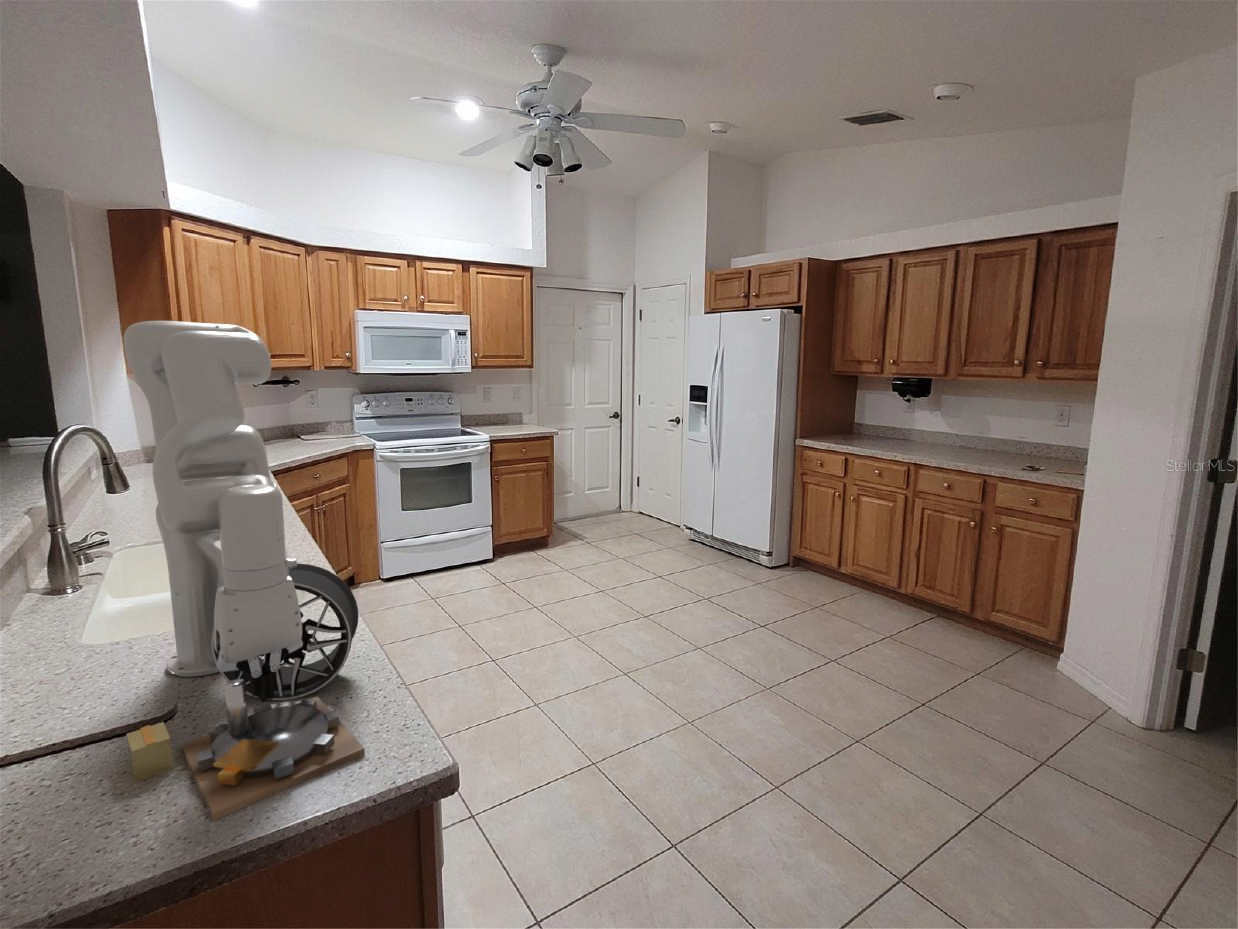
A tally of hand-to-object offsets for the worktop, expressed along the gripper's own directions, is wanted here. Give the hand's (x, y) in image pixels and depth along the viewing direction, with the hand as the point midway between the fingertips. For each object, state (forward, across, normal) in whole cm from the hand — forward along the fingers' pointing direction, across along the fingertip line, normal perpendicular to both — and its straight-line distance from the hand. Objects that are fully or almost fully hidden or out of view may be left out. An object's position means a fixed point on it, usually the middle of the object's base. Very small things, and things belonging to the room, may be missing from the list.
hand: (264, 696), depth 86 cm
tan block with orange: (+7, +13, -5) cm, 15 cm away
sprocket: (+5, +1, +4) cm, 7 cm away
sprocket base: (+7, +1, +4) cm, 8 cm away
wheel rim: (+7, -8, -12) cm, 17 cm away
